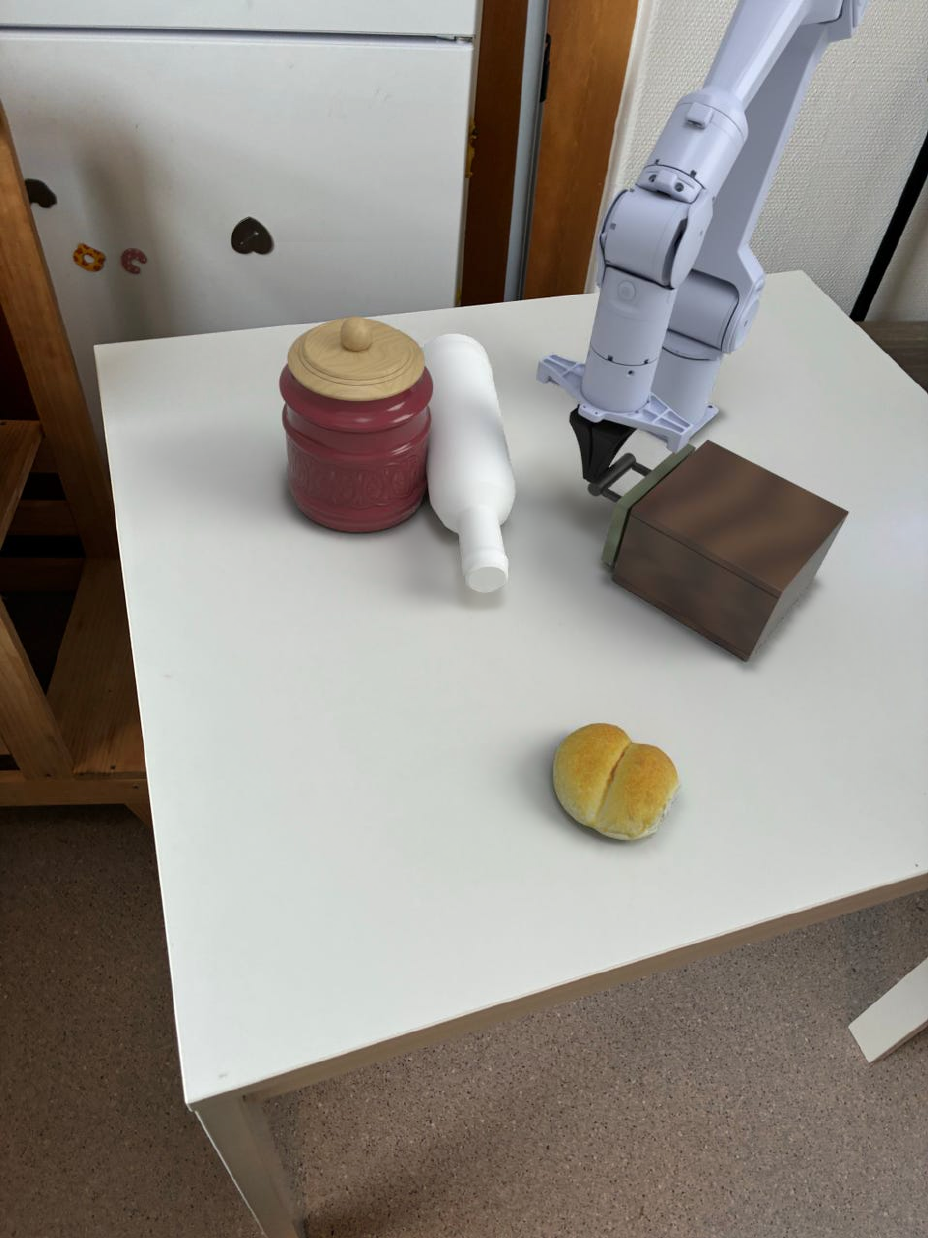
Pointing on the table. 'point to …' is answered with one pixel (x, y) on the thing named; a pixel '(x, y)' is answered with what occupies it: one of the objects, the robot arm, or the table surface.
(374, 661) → the table surface
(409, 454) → the kitchen canister
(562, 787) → the bread roll
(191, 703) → the table surface
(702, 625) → the cabinet
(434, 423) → the bottle
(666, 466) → the drawer
